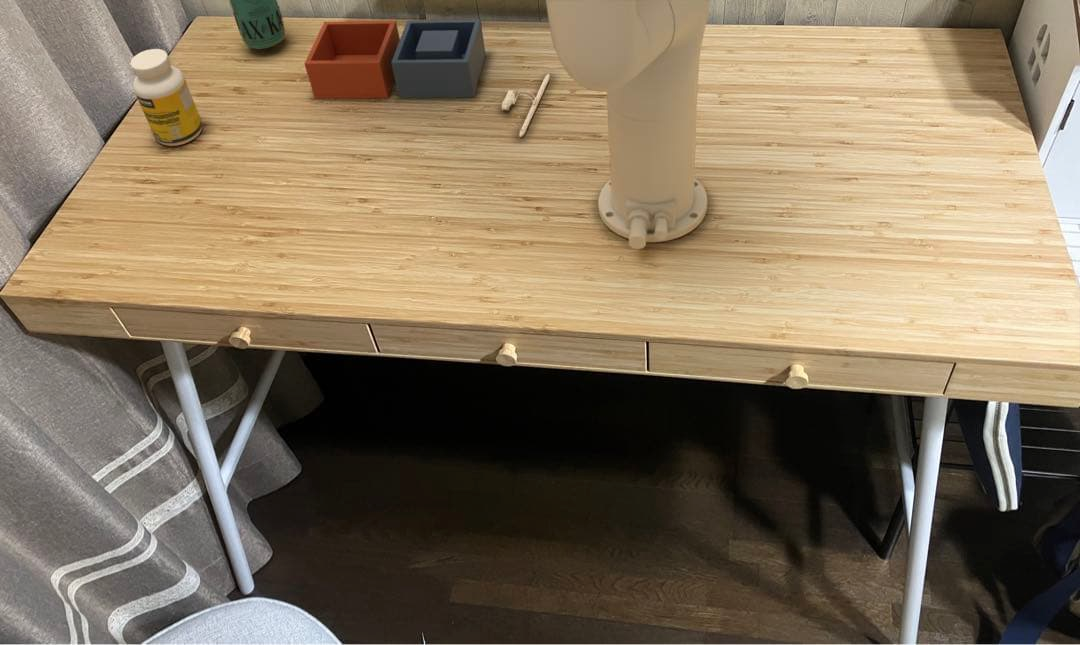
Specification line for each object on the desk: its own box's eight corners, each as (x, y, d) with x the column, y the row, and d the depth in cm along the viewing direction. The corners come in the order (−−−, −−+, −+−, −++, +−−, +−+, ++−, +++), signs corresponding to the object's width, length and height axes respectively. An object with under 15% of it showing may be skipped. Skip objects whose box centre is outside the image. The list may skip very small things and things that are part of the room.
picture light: (523, 139, 129) (521, 125, 127) (490, 136, 130) (488, 122, 128) (551, 76, 138) (550, 63, 136) (521, 74, 139) (519, 60, 137)
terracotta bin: (387, 98, 137) (379, 62, 133) (314, 98, 139) (304, 63, 135) (403, 55, 144) (395, 20, 140) (333, 56, 146) (324, 21, 142)
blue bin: (474, 97, 136) (468, 61, 132) (399, 98, 137) (391, 62, 133) (485, 54, 143) (480, 19, 139) (414, 55, 144) (407, 20, 140)
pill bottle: (146, 142, 135) (111, 68, 127) (176, 115, 139) (145, 41, 131) (183, 152, 133) (151, 77, 125) (213, 124, 137) (184, 49, 128)
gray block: (457, 82, 138) (451, 50, 134) (421, 82, 138) (415, 51, 135) (463, 61, 141) (458, 30, 137) (428, 62, 142) (422, 30, 138)
